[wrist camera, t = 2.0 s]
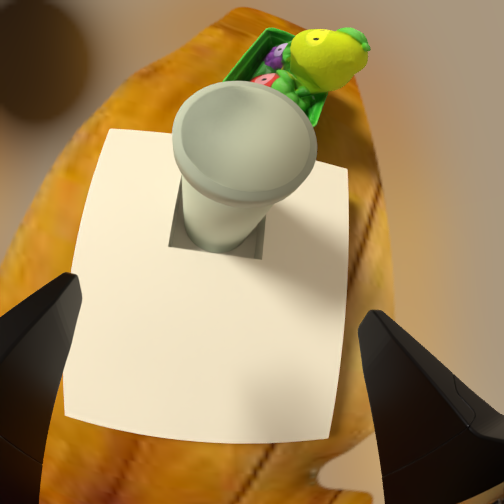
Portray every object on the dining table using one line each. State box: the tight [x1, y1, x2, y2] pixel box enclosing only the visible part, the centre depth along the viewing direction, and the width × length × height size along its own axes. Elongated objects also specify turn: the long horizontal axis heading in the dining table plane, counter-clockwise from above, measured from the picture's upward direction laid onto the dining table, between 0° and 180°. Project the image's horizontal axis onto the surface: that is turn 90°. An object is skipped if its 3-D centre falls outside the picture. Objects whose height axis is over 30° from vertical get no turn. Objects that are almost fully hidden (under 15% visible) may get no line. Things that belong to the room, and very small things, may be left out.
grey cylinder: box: [172, 81, 317, 253], centre depth 15 cm, size 5×5×11 cm
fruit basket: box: [223, 28, 370, 127], centre depth 19 cm, size 11×9×11 cm
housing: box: [63, 129, 349, 443], centre depth 18 cm, size 20×18×4 cm
